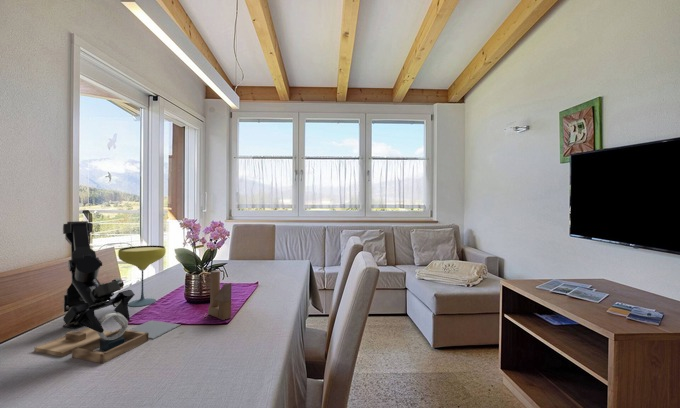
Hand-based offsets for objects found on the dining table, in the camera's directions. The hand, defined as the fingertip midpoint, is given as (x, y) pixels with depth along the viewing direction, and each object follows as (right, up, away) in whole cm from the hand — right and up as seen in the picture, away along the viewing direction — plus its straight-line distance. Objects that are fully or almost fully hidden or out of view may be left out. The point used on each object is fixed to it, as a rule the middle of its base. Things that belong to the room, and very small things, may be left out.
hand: (116, 326), depth 95 cm
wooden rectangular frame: (-1, -7, 0) cm, 7 cm away
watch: (-1, -7, 0) cm, 7 cm away
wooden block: (+21, -7, +28) cm, 36 cm away
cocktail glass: (-20, -7, +43) cm, 48 cm away
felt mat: (+2, -7, +14) cm, 16 cm away
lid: (-16, -7, +4) cm, 18 cm away
